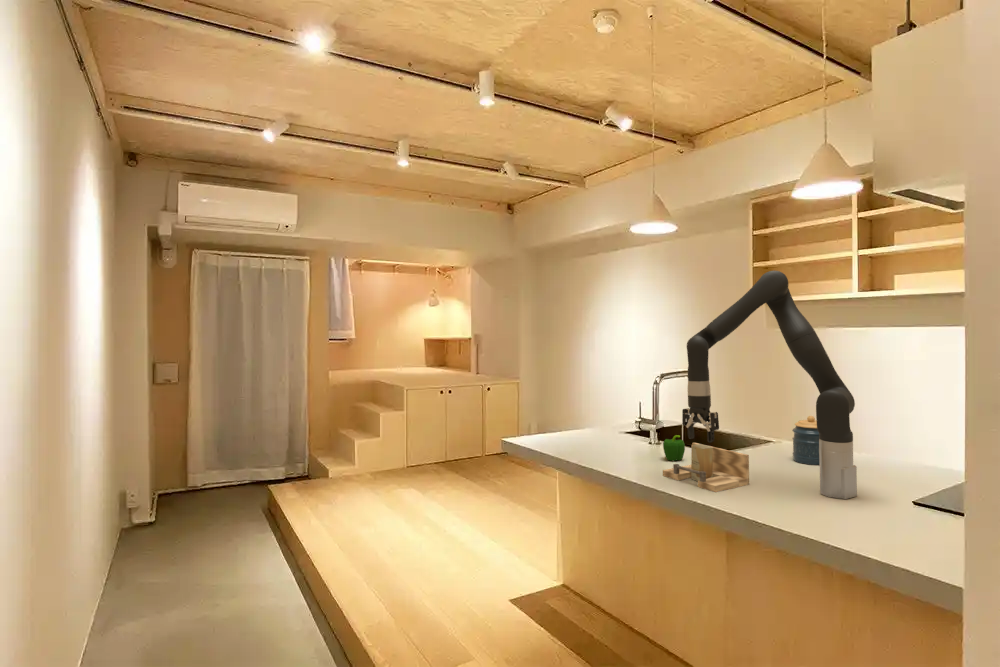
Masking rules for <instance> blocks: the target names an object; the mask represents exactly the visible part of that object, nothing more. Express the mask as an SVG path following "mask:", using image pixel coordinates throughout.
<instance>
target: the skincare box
mask: <svg viewBox="0 0 1000 667" xmlns="http://www.w3.org/2000/svg"><path fill="white" fill-rule="evenodd" d="M709 446H710V445H707V446H706V444H703V445H702V443H698V444H696V445H692V444H691V447H690V448H691V449H690V450H691V457H690V458H691V464H690V465H691V469H693V470H696V471H700V472H701V471H704V472H706V479H708V478H713V447H714V446H712V447H709ZM690 479H691V480H694V481H696V482H698V481H699V480H700V475H699V474H696V473H692V472H691V478H690Z"/></svg>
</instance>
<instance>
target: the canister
mask: <svg viewBox="0 0 1000 667" xmlns="http://www.w3.org/2000/svg"><path fill="white" fill-rule="evenodd" d="M794 426H795V427H794V428H792V429H791V430H792V432H793V437H792V457H793V461H795V462H797V463H799V464H803V465H811V466H812V465H815V466H820V462H819V432H818V430H817V420H816V419H815V416H814V415H808V416H807V418H806V419H801V420H798V421H797V422H795V423H794Z"/></svg>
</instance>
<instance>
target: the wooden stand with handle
mask: <svg viewBox="0 0 1000 667" xmlns="http://www.w3.org/2000/svg"><path fill="white" fill-rule="evenodd" d="M696 444H699V443H698V442H692V444H691V445H696ZM701 444H702V443H701ZM702 445H704V444H702ZM705 445H706V444H705ZM706 446H709V447H713V478H708V479H706V472H704V471H701V472H700V471H696V470H693V469H691V464H687V465H683V466H682V465H680V464H679V463H674V464H673V466H672V467H671V468H667V469H662V476H663V477H667V478H670V479H672V480H676V481H681V480H683V481H684V480H687V479H691V472H692V473H696V474H699V475H700V480H699V481H697V487H699V488H701V489H705V490H707V491H711V492H714V493H717V492H722V491H726V490H731V489H735V488H741V487H743V486H744V487H745V486H748V485H750V460H749V459H750V456H749V454H746V453H741V452H738V451H733V450H730V449H729V450H727V449H725V448H720V447H715V446H711V445H706Z"/></svg>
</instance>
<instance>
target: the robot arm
mask: <svg viewBox="0 0 1000 667" xmlns="http://www.w3.org/2000/svg"><path fill="white" fill-rule="evenodd" d="M765 304H766V305H767V307H768V308H769V310H770V311H771V313H772V314H773V315H774V318H775V320H776V322H777V325H778V328H779V330H780V332H781V334H782V337H783V338H784V340H785V343H786V345H787V347H788V349H789V351H790V353H791V354H792V356H793V357H794V360H796V361H797V364H799V365H800V366H801V367H802V369H803V370H805V372H806V373H807V375H809V376H810V378H811V379H812V381H813V382H814V383H815V386H816V388H817V390H818V392H819V395H818V396H817V398H816V402H815V414H816V416H815V417H816V419H815V420H817V430H818V432H819V462H820V465H819V492H820V494H821V495H823V496H825V497H829V498H833V499H836V498H837V499H842V500H848V499H851V498H855V497H858V483H857V482H858V476H857V475H858V474H857V472H858V471H857V469H858V468H857V465H855V464H854V433H853V431H852V430H851V423H850V422H851V421H850V420H851V419H850V414H852V412H853V411H854V409H855V405H856V403H855V399H854V396H853V394H852V392H851V391H850V390H849V388H848V387H847V386H846V384H845V383H844V382H843V380H842V378H841V376H840V375H839V374H838V373H837V371H836V370H835V367H834V365H833V362H832V361H831V358H830V356H829V355H828V353H827V351H826V349H825V347H824V345H823V343H822V342H821V339H820V337H819V336H818V334H817V333H816V330H815V329H814V327H813V326H812V325H811V324H810V322H809V321H808V319H807V318H806V317H805V316H804V315H803V314H802V312H801V311H800V310H799V309H798V307H797V305H796V303H795V301H794V299H793V297H792V295H791V292H790V289H789V279H788V277H787V276H786V274H785V273H784V272H782V271H780V270H770V271H767V272H765V273H764V274H762V275H761V276H760V277H759V278H758V280H757V281H756V282H755V283H754V285H753V286H752V287H751V288H750V289H749V290H748V291H747V292H746V293H745V294H744V295H742V297H740V298H739V299H738V300H737V301H736V302H734V303H733V304H732V305H731V306H729V307H728V308H726V309H725V310H724V311H723V312H722V313H720V314H719V315H718V316H717V317H716V318H714V319H713V320H712V321H711V322H709V323H708V325H706V326H705V327H704V328H702V329H701V330H700V331H698V332H697V333H695V334H694V335H693V336H691V337H690V338H689V339H688V340H687V343H686V353H687V362H688V363H687V365H688V367H687V405H688V406H687V408H683V409H682V417H681V418H682V421H681V423H682V426H685V427H686V428H687V438H688V439H689V440H692V439H695V428H694V427H695V425H696V424H702V426H703V427H705V429H706V438H707V441H706V442H708V443H713V442H715V431H717V430H720V423H719V421H720V420H719V412H717V411H713V412H711V411H710V410H711V406H712V397H711V395H712V394H711V384H710V369H709V350H710V349H711V348H712V347H714V346H715V345H716V344H717V343H718V342H721V341H723V340H724V339H725V338H727V337H728V336H729V335H731V334H732V333H733V332H734V331H735V330H737V329H738V328H739V327H740V326H741V325H742V324H743V323H744V322H745V321H746V320H747V319H748V318H749V317H750V316H751V315H752V314H753V313H754V312H756V311H757V310H758V309H759V308H760V307H762V306H763V305H765Z"/></svg>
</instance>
